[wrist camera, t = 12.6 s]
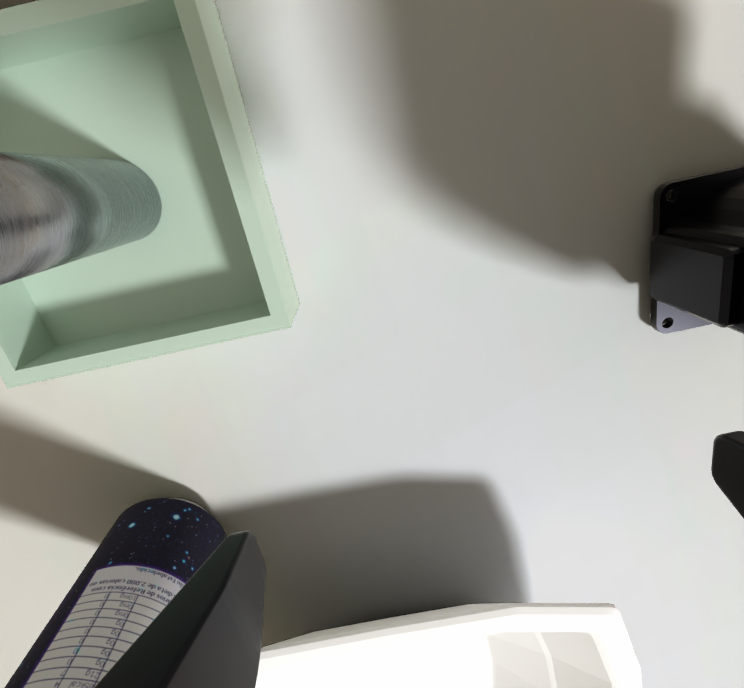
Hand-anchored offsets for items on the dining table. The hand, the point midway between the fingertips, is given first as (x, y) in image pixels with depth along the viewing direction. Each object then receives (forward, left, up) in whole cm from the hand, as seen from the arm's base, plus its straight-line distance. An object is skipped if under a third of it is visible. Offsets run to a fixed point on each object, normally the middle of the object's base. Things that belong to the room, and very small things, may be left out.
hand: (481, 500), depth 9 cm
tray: (+10, -7, -12) cm, 17 cm away
